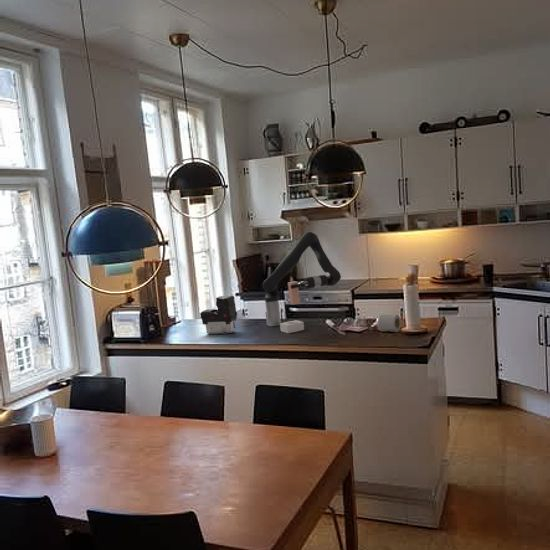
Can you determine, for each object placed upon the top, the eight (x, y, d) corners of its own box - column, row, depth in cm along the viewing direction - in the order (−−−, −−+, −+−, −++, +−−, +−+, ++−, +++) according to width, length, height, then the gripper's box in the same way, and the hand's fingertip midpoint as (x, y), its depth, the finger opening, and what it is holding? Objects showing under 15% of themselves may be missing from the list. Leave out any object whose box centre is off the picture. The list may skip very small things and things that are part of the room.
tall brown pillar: (293, 304, 350) (290, 282, 348) (290, 304, 353) (287, 282, 352) (300, 303, 352) (297, 281, 350) (297, 302, 355) (294, 281, 354)
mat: (296, 334, 347) (296, 334, 347) (308, 330, 356) (308, 329, 356) (307, 336, 341) (306, 335, 341) (319, 331, 349) (319, 330, 349)
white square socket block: (287, 334, 350) (286, 324, 350) (280, 332, 359) (279, 322, 359) (304, 331, 355) (303, 321, 355) (297, 329, 364) (296, 319, 364)
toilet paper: (401, 329, 331) (400, 313, 330) (394, 333, 323) (393, 316, 322) (385, 329, 337) (384, 313, 336) (378, 332, 329) (377, 316, 328)
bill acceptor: (209, 332, 386) (205, 296, 383) (239, 331, 378) (235, 295, 375) (202, 335, 376) (198, 299, 373) (233, 334, 368) (228, 297, 365)
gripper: (306, 276, 363) (283, 280, 356) (317, 277, 351) (293, 281, 343) (307, 287, 364) (284, 291, 357) (318, 288, 351) (295, 293, 344)
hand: (289, 286), depth 350 cm, fingers closed on tall brown pillar, 4 cm apart
